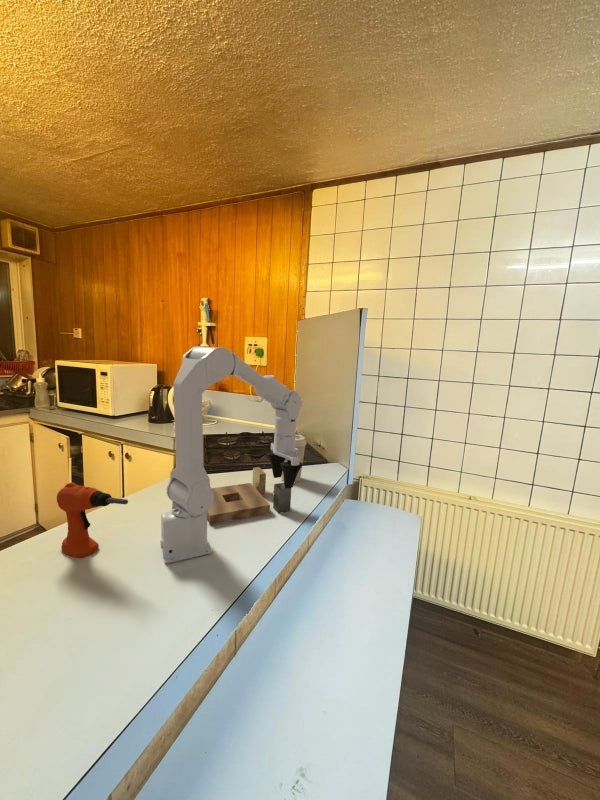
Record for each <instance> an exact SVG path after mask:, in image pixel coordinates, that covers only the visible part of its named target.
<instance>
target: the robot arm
mask: <svg viewBox="0 0 600 800" xmlns="http://www.w3.org/2000/svg"><path fill="white" fill-rule="evenodd" d="M229 376H234V377H235V378H237V379H239V380H241V381H243V382H244V383H246V384H247V385H250V386H251V387H253V388H254V393H255V394H256V396H258V397H260V398H261V399H263V400H264V401H266V402H268V403H269V404H270V405H271V407H272V409H274V411H275V414H274V433H273V435H274V437H273V438H274V439H273V442H271V443H270V450H271V451H269V452H268V451H267V453H266V455H267V457H268V459H269V462H270V466H271V471H272V475H273V478H274V479H278V478H281V476H282V471H283V475H284V481H283V483H284V486H285V488H286V489H287V488H291V489H292V488H293V487H294V484H295V483H294V482H295V479H296V476H297V474H298V472H299V470H300V468H301V467H302V468H303V464H302V463H301V462H300V458H299V457H298V456H297V453H296V452H299V449H297V448H295V438H296V433H297V420H298V417H299V412H300V410H301V408H302V407H303V406H302V405H303V401H302V399H301V396H300V394H299V393H298V392H297V391H295V390H290V389H289V387H288V385H286V384H283V383H281V382H280V381H278V380H277V379H278V377H276V376H275V375H271V374H269V375H268V374H266V375H261V374H260V373H259V372H257V371H256V369H254V368H253V367H251V365H249V364H248V363H247V362H245V361H244V360H243V359H241V358H240V357H239V356H238V354H237V353H235V352H232V351H231V350H229V349H228V348H226V347H223V346H218V347H215V346H214V347H211V346H210V347H209V346H202V345H197V346H194V347H192V348H191V349H189V350H188V351H186V353H184V354H183V355H182V364H181V365H180V368H179V370H178V372H177V374H176V377H175V379H174V380H173V410H174V411H173V412H174V415H173V416H174V432H175V433H174V434H175V435H174V439H175V465H176V467H175V468H173V469H172V470H171V471H170V474H169V475H170V479H169V482H168V485H167V487H166V495H167V497H168V499H169V500H171V502H172V503H171V505H172V507H171V510H168V511H166V512H162V513H161V515H160V521H161V524H160V525H161V527H160V528H161V531H160V532H161V537H160V538H161V539H160V549H162V557H163V562H164V564H171V563H175V562H179V561H183V560H189V559H192V558H196V557H201V556H204V555H210V554H211V553H213V549H212V547H211V545H210V542H209V540H208V520H207V513H208V510H209V509H210V507H211V506H212V504H213V501H214V493H213V490H212V489H211V488H212V486H211V482H210V481H211V480H210V479H211V478H210V477H209V475H208V473H207V471H206V469H205V467H204V431H203V428H204V426H203V424H204V423H203V393H204V392H206V390H208V389H209V388H210V386H212V385H214V384H216V383H218V382H220V381H222V380H224V379H226V378H228V377H229ZM285 459H287V462H284V461H285Z"/></svg>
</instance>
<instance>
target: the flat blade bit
mask: <svg viewBox="0 0 600 800" xmlns="http://www.w3.org/2000/svg"><path fill="white" fill-rule="evenodd" d="M266 478H267V473H266V472H265V471H264V470H263V468H261V467H260V466H257V467H253V468H252V483H251V484H252V485H253V486H254V487H255V488H256V490H257V491H258V492H259V493H260V494H261V495H262V496H263V497H264V496H266V487H267V486H266V484H267V483H266V482H267V479H266Z"/></svg>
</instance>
